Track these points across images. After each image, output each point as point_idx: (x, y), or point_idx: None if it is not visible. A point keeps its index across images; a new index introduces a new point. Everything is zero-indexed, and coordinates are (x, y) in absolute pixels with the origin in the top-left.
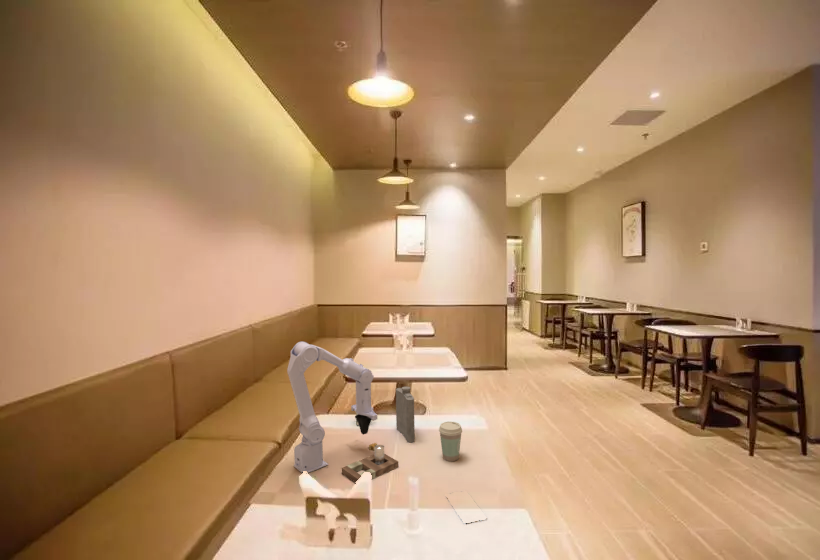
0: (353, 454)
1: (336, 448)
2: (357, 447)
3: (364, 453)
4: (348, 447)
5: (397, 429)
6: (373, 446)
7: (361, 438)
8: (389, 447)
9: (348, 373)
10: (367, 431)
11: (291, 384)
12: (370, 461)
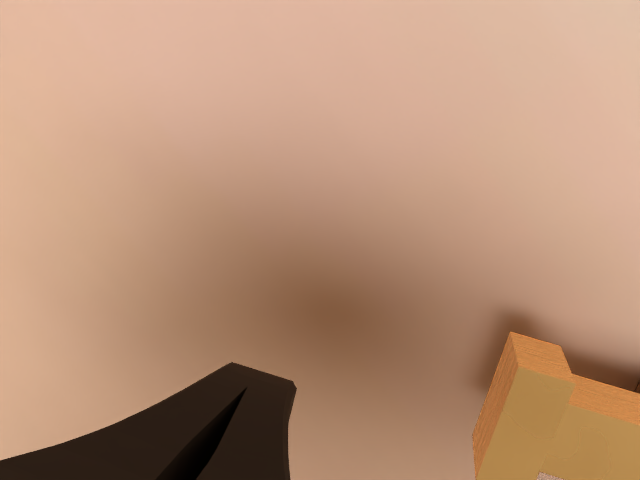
0: (288, 448)
1: (36, 418)
2: (200, 291)
3: (384, 375)
4: (116, 342)
5: None
6: (564, 467)
7: (50, 53)
8: (600, 51)
9: None
10: (289, 406)
11: None
12: None
